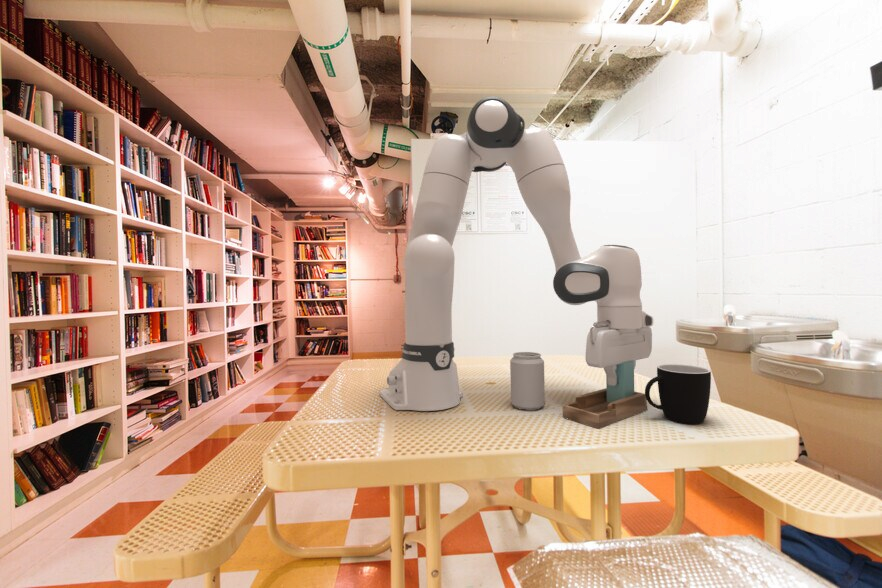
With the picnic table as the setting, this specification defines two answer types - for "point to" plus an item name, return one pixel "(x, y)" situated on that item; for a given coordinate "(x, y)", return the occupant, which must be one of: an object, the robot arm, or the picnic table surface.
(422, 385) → the robot arm
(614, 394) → the block
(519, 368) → the can
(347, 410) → the picnic table surface
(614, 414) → the brown wooden tray
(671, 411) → the mug
